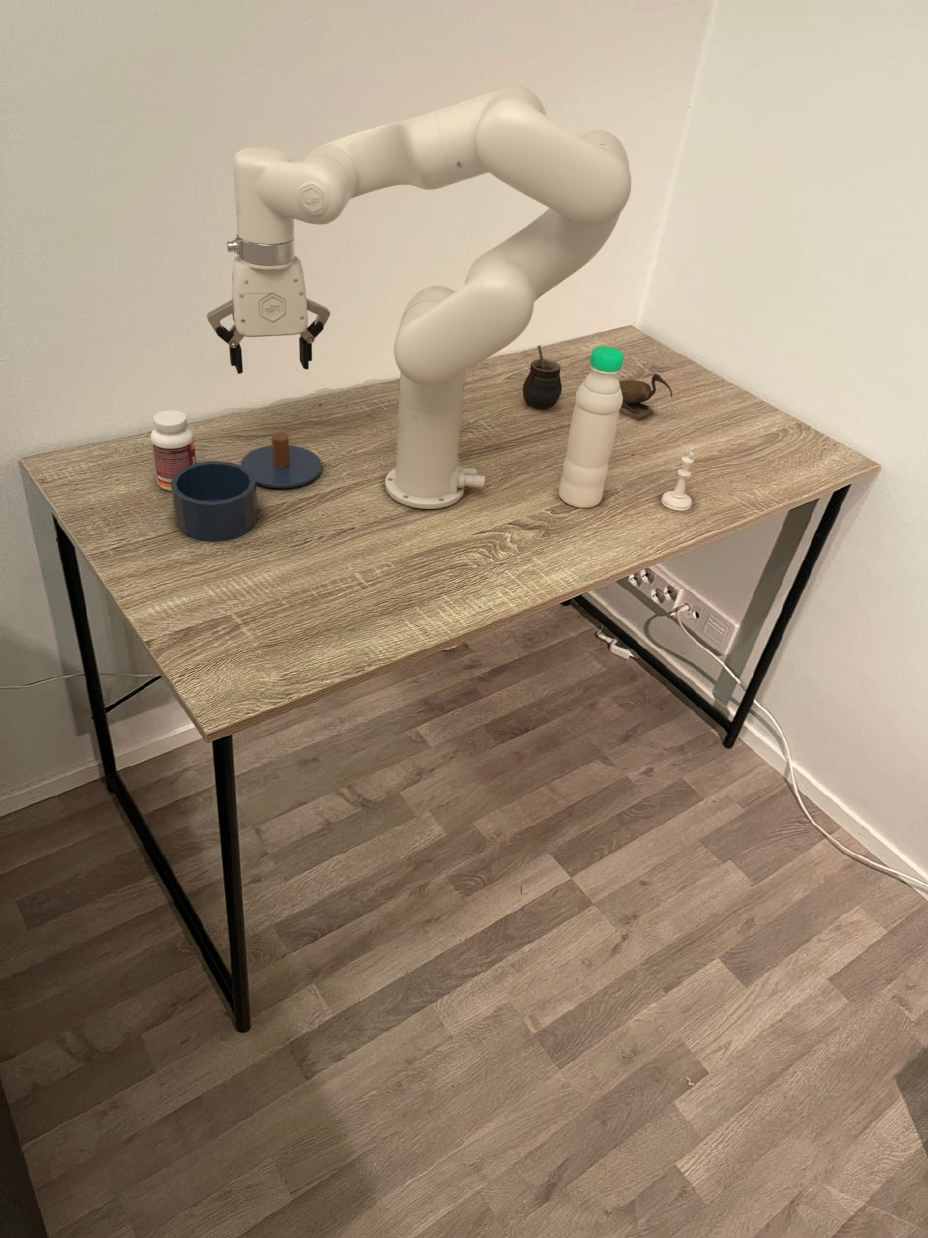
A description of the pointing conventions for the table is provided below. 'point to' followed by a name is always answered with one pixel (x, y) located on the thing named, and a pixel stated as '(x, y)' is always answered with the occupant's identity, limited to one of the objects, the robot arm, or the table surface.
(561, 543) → the table surface
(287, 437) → the lid
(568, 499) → the water bottle
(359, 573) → the table surface
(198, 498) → the tin
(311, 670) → the table surface
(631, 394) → the figurine
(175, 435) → the pill bottle
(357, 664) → the table surface
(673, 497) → the chess piece
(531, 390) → the mate gourd
